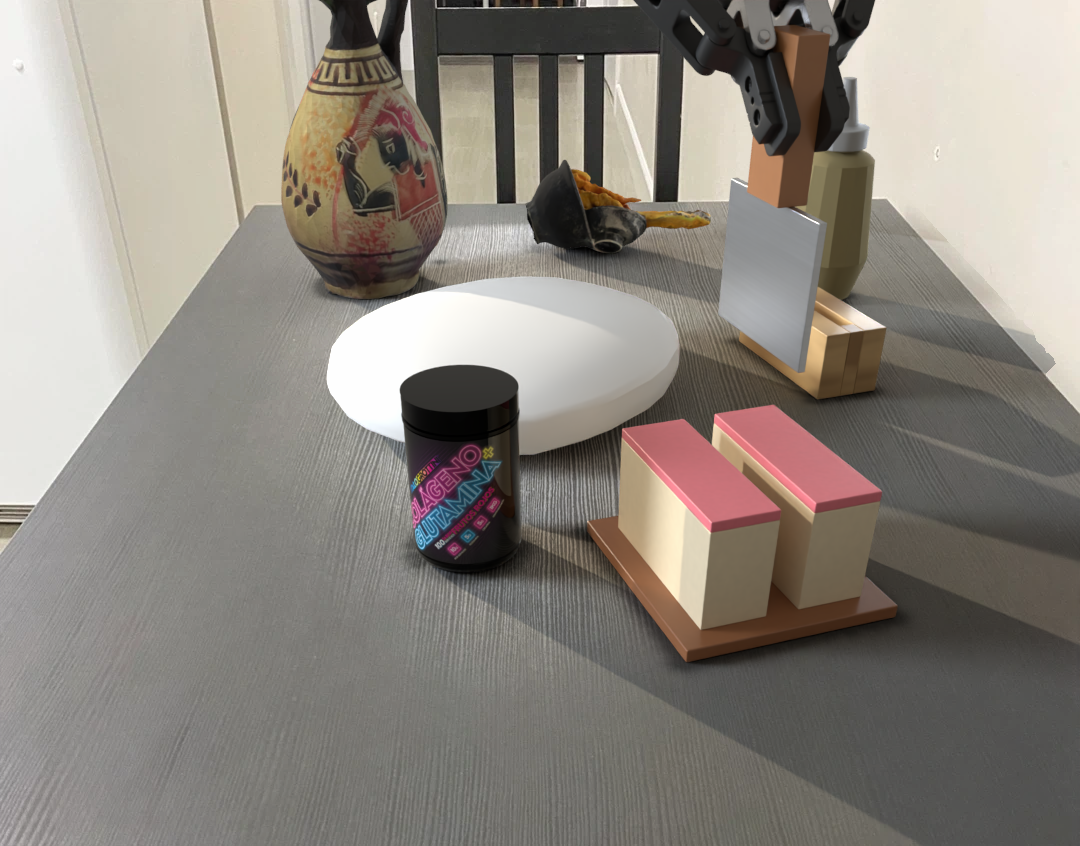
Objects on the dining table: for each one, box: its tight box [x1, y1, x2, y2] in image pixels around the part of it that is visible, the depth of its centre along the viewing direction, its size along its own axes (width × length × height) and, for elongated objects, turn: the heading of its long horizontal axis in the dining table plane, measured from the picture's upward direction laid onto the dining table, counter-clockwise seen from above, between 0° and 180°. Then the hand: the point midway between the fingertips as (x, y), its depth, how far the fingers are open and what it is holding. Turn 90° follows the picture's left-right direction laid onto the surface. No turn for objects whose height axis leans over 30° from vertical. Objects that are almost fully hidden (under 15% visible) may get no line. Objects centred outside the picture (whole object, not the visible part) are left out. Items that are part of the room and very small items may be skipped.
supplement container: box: [400, 365, 522, 574], centre depth 64 cm, size 7×7×10 cm
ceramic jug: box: [280, 0, 449, 300], centre depth 98 cm, size 17×15×30 cm
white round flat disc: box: [326, 275, 681, 456], centre depth 84 cm, size 28×6×27 cm
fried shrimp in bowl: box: [525, 159, 712, 254], centre depth 113 cm, size 9×11×18 cm
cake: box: [586, 404, 899, 663], centre depth 63 cm, size 15×13×7 cm
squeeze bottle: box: [796, 76, 876, 301], centre depth 98 cm, size 8×8×18 cm
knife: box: [717, 25, 830, 373], centre depth 53 cm, size 9×2×14 cm, turn 19°
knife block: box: [738, 287, 888, 400], centre depth 89 cm, size 13×5×5 cm, turn 19°
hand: (807, 142), depth 50 cm, fingers closed on knife, 1 cm apart
